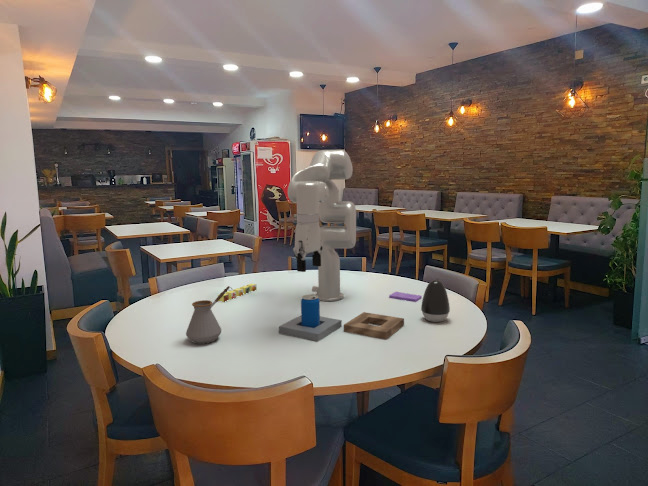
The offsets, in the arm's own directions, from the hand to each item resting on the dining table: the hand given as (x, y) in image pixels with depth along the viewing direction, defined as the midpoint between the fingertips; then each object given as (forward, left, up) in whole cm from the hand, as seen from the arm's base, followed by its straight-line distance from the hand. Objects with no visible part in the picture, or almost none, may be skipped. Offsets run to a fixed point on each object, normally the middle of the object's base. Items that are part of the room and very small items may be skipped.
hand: (309, 268), depth 156 cm
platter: (-52, +24, -23) cm, 62 cm away
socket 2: (+19, +12, -22) cm, 32 cm away
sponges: (+15, +53, -23) cm, 60 cm away
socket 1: (0, 0, -22) cm, 22 cm away
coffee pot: (-27, -20, -22) cm, 40 cm away
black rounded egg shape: (+35, +31, -22) cm, 52 cm away
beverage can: (0, 0, -22) cm, 22 cm away
